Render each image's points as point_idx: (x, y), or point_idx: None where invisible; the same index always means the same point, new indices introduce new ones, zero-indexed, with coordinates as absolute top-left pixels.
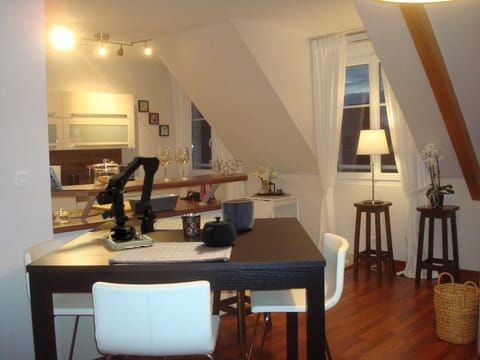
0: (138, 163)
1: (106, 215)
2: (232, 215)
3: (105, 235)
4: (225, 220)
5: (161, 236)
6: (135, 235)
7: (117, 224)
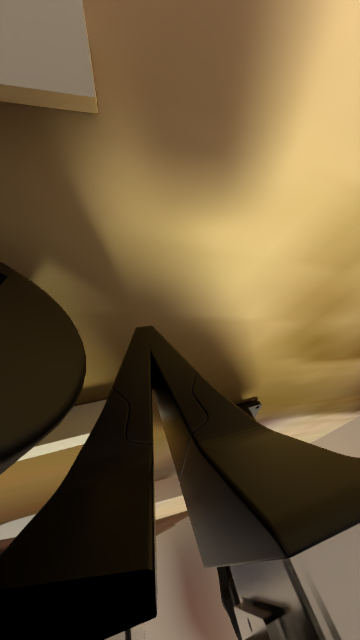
0: None
1: None
2: None
3: (78, 91)
4: None
5: (39, 480)
6: (100, 409)
7: (72, 489)
